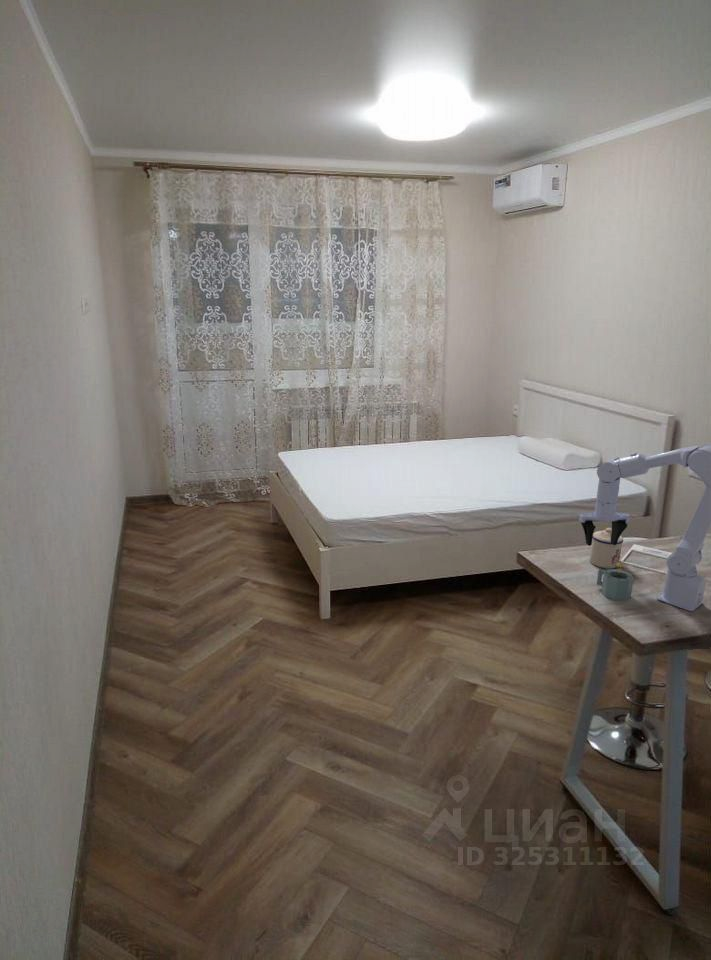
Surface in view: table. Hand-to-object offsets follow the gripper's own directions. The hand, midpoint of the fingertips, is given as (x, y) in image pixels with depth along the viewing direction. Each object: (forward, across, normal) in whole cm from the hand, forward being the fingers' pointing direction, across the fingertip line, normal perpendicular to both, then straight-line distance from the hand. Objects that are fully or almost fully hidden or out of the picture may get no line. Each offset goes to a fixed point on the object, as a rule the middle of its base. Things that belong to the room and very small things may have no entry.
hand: (600, 544), depth 190 cm
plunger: (+6, 0, +13) cm, 14 cm away
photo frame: (+11, -23, -11) cm, 27 cm away
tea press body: (+10, +1, +12) cm, 15 cm away
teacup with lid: (+10, -7, -10) cm, 16 cm away
